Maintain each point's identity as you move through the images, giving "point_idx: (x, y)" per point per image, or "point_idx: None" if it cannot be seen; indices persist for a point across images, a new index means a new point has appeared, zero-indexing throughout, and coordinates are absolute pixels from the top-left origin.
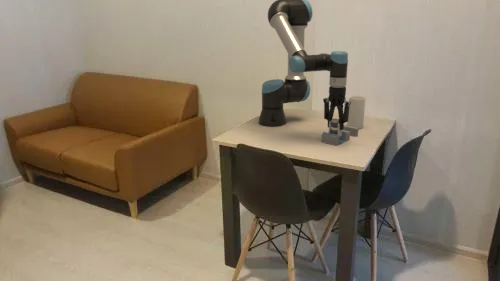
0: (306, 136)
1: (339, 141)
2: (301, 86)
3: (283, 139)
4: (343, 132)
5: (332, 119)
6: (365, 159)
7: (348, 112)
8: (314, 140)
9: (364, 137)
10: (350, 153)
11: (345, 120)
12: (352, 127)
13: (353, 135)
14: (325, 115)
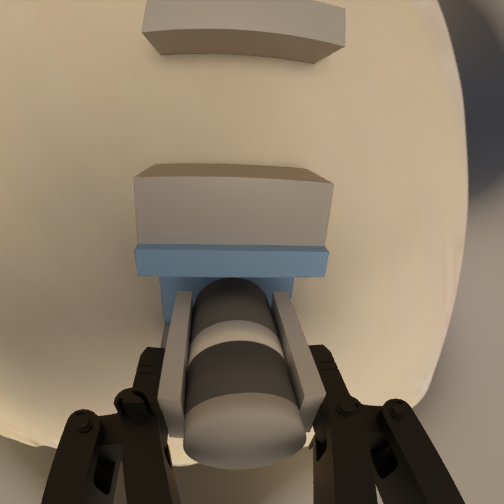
0: (38, 306)
1: (268, 278)
2: None
3: (38, 389)
4: (296, 274)
5: (205, 458)
6: (432, 368)
7: (453, 496)
8: (119, 341)
9: (374, 51)
10: (380, 368)
11: (391, 451)
12: (280, 14)
13: (291, 58)
14: (104, 482)
